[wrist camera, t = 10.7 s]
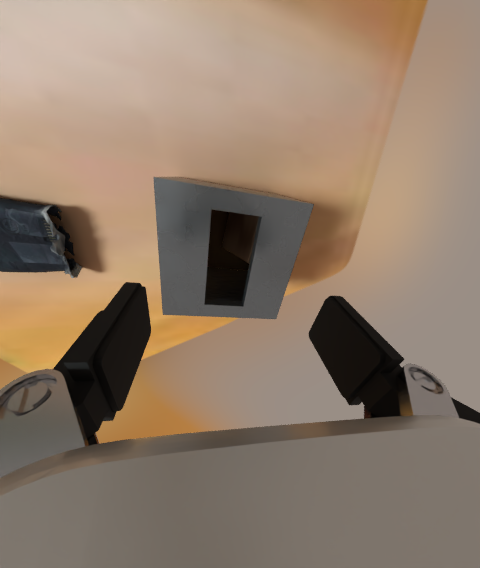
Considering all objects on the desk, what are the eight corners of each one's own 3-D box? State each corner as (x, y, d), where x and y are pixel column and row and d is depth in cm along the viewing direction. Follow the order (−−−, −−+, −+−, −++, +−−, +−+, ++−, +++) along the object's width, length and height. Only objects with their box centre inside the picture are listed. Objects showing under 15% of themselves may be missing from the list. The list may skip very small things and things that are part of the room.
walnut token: (232, 199, 22) (264, 211, 19) (242, 201, 23) (274, 213, 20) (221, 247, 24) (248, 263, 22) (231, 246, 26) (258, 261, 23)
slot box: (178, 176, 21) (153, 177, 12) (276, 193, 23) (313, 204, 14) (179, 270, 27) (162, 314, 18) (257, 276, 29) (276, 319, 20)
